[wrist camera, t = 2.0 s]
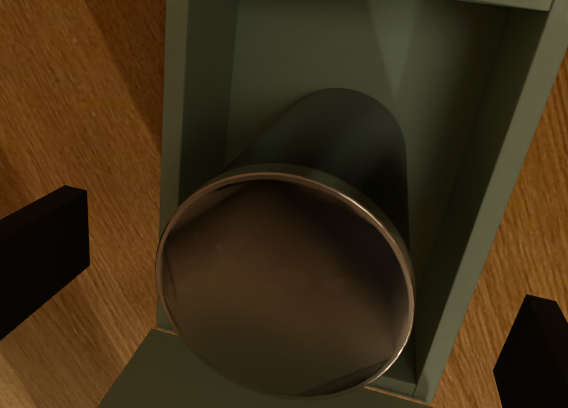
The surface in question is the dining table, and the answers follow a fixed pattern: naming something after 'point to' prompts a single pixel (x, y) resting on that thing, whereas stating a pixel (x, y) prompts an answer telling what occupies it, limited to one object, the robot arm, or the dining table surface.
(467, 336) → the dining table surface
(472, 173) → the chest
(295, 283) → the metal-rimmed black canister
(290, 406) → the chest lid
